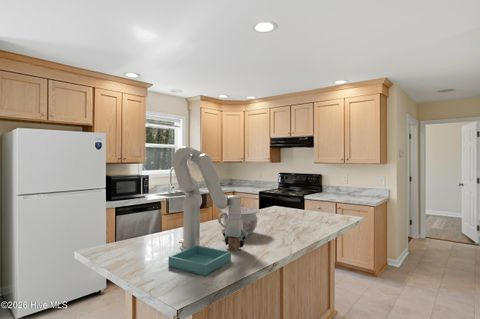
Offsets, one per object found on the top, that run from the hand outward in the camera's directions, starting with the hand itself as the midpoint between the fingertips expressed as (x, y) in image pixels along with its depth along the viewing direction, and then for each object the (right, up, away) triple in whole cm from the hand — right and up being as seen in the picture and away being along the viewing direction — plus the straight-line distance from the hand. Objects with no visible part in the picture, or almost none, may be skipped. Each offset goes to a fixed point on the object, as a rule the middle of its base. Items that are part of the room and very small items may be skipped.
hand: (234, 245), depth 168 cm
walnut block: (0, -2, 0) cm, 2 cm away
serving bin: (-16, -2, -25) cm, 30 cm away
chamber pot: (+3, -2, +35) cm, 35 cm away
